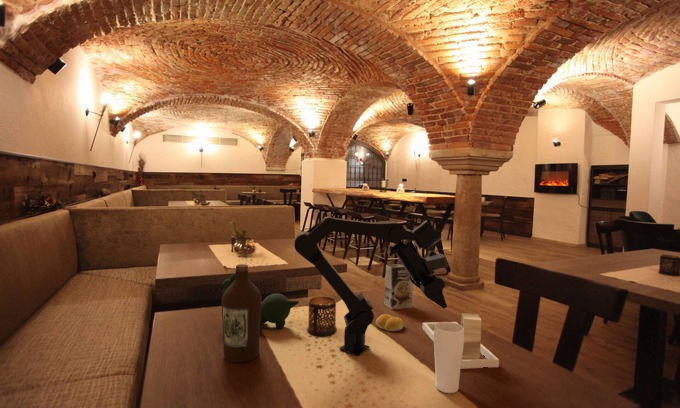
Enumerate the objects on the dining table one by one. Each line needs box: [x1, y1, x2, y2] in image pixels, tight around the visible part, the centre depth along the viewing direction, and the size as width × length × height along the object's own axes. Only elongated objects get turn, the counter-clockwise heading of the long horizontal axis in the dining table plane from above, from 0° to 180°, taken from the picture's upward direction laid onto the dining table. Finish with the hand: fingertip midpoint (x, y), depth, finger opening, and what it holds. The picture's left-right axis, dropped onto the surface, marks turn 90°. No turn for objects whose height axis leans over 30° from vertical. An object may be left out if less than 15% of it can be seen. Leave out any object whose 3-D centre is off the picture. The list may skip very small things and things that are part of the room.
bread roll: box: [375, 313, 404, 332], centre depth 133 cm, size 8×9×4 cm
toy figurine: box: [220, 272, 300, 330], centre depth 130 cm, size 9×19×25 cm
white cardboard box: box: [383, 263, 414, 310], centre depth 153 cm, size 9×6×16 cm
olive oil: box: [221, 263, 263, 363], centre depth 108 cm, size 11×11×25 cm
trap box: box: [422, 321, 500, 370], centre depth 118 cm, size 28×12×2 cm, turn 7°
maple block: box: [460, 312, 482, 360], centre depth 109 cm, size 4×4×12 cm
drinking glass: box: [433, 321, 464, 394], centre depth 94 cm, size 7×7×15 cm
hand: (440, 302), depth 116 cm, fingers open, 9 cm apart
